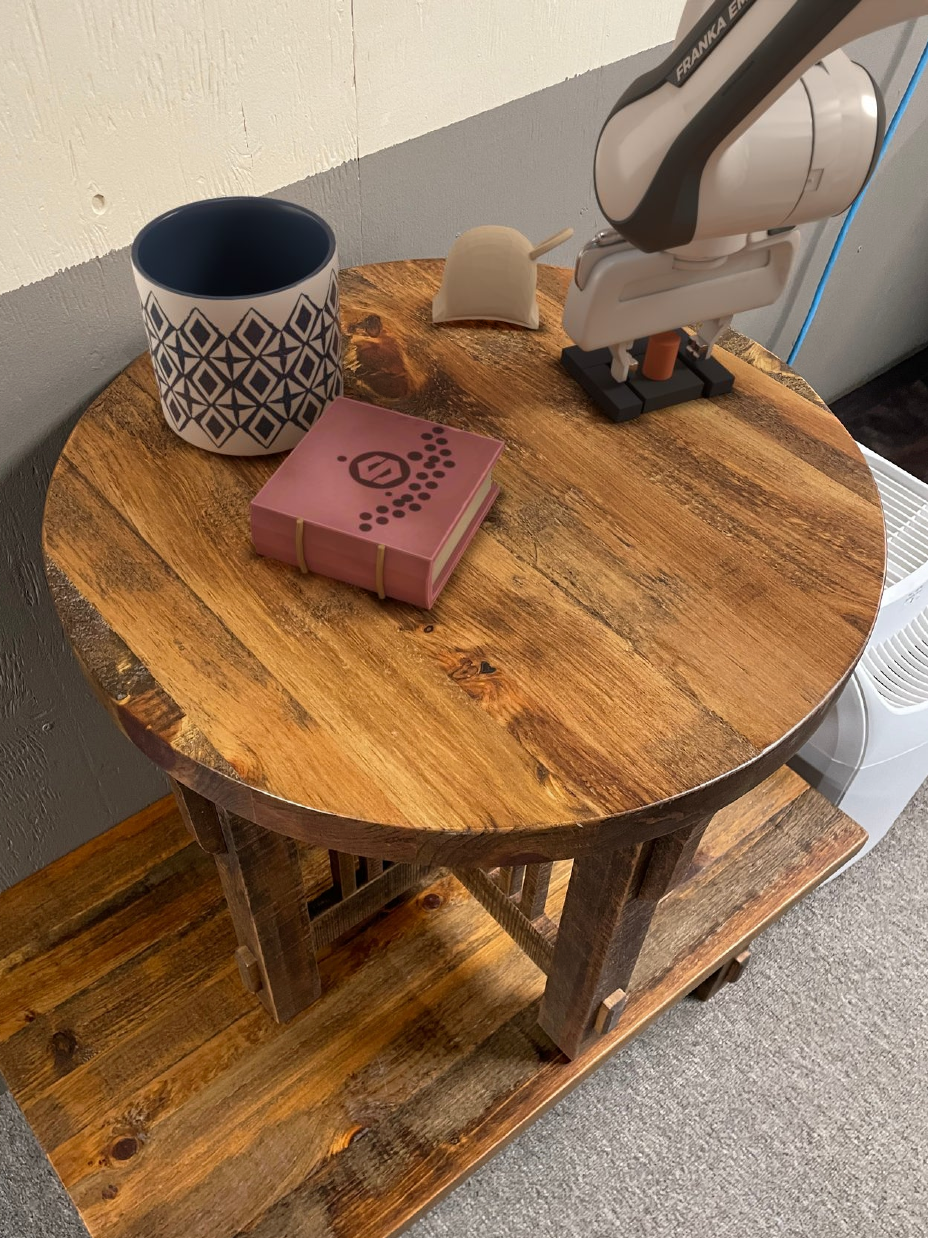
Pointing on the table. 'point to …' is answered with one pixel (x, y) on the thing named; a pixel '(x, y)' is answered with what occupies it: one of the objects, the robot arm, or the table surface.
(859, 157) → the robot arm
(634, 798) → the table surface
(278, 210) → the planter
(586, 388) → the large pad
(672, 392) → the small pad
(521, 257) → the decorative ornament
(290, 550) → the book
